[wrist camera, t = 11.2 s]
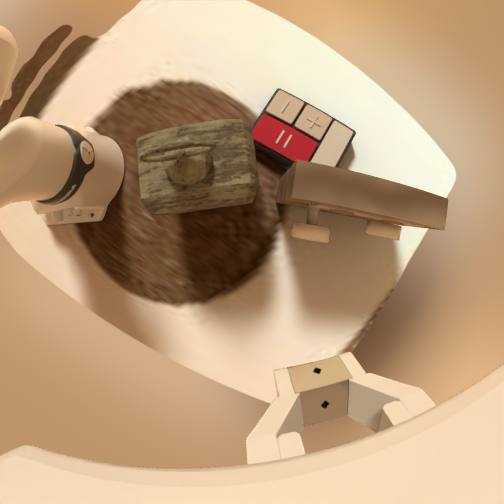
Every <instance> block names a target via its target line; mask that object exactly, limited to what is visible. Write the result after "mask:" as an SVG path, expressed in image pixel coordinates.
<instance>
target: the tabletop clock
mask: <svg viewBox="0 0 504 504" xmlns="http://www.w3.org/2000/svg"><path fill="white" fill-rule="evenodd" d="M137 157H138V171H139V183H140V194H141V201H142V203H143V204H144V206H145V207H146V208H147V210H148V211H149V212H150V214H151V215H168V214H177V213H185V212H191V211H198V210H206V209H213V208H220V207H228V206H235V205H243V204H249V203H252V202H253V200H254V198H255V196H256V194H257V192H258V189H259V187H260V186H259V178H258V170H257V162H256V154H255V146H254V139H253V132H252V128H251V125H250V124H249V123H248V122H247V121H245V120H243V119H223V120H214V121H206V122H199V123H193V124H186V125H182V126H177V127H173V128H168V129H164V130H160V131H156V132H153V133H149V134H146V135H144V136H141V137H139V138H137Z"/></svg>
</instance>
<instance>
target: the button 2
mask: <svg viewBox="0 0 504 504" xmlns="http://www.w3.org/2000/svg"><path fill="white" fill-rule="evenodd" d="M400 233H401V226H398V225H394V224H389V223H386V222H382V221H380V222H379V221H372V220H368V223H367V230H366V234H370V235H375V236H380V237H385V238H390V239H395V240H399V239H400Z"/></svg>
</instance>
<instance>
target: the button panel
mask: <svg viewBox="0 0 504 504" xmlns="http://www.w3.org/2000/svg"><path fill="white" fill-rule="evenodd" d="M276 203H279V204H286V205H292V206H298V207H303V208H309V206H311V207H316V208H319V210H321V211H326V212H331V213H337V214H342V215H347V216H352V217H357V218H362V219H367V220H372V221H379V222H380V221H382V222H386V223H389V224H396V225H402V226H412V227H420V228H430V229H437V230H444V229H445V223H446V215H447V206H448V199H447V198H444V197H441V196H438V195H435V194H432V193H429V192H426V191H423V190H419V189H416V188H413V187H410V186H406V185H403V184H400V183H396V182H393V181H389V180H385V179H382V178H378V177H374V176H370V175H366V174H362V173H358V172H354V171H350V170H346V169H341V168H337V167H332V166H328V165H323V164H318V163H313V162H308V161H303V160H296V161H295V162H294V163H293V165H292V166H291V167H290V168H289V169H288V170H287V171H286V172H285V174H284V175H283V176H282V177H281V178H280V179H279V185H278V192H277V199H276Z"/></svg>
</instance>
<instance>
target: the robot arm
mask: <svg viewBox="0 0 504 504" xmlns="http://www.w3.org/2000/svg"><path fill="white" fill-rule="evenodd" d="M18 55H19V52H18V47H17V43H16V41H15V39H14V37H13V35H12V34H11V32H10V31H9V30H8V29H6V28H5V27H3V26H1V25H0V107H1V104H2V102H3V100H4V97H5V95H6V92H7V89H8V86H9V82H10V79H11V76H12V73H13V70H14V67H15V64H16V61H17V58H18ZM123 175H124V158H123V154H122V151H121V149H120V147H119V146H118V144H117V143H116V142H115V141H114V140H112V139H111V138H109V137H106V136H102V135H100V134H98V133H97V132H96V131H95V130H94V129H93V128H91V127H86V128H84V129H81V128H77V127H73V126H63V125H53V124H50V123H48V122H45V121H42V120H40V119H37V118H34V117H22V118H19V119H17V120H15V121H13V122H11V123H9V124H8V125H6V126H5V127H4V128H3V129H2V130H1V131H0V208H1V207H3V206H5V205H7V204H10V203H14V202H20V201H31V202H32V206H33V208H34V210H35V212H36V213H37V214H41V216H42V218H43V220H44V222H45V223H46V224H47V225H56V224H69V223H82V222H96V221H101V220H102V219H103V218H104V216H105V213H106V210H107V207H108V205H109V203H110V201H111V200H112V199H113V198H114V196H115V195H116V193H117V192H118V190H119V188H120V186H121V183H122V180H123ZM93 213H94V216H92V214H93ZM273 371H274V378H275V383H276V389H277V395H278V397H277V398H275V399H274V401H273V402H272V404H271V405H270V407H269V408H268V409H267V411H266V412H265V414H264V415H263V417H262V418H261V419H260V421H259V422H258V424H257V425H256V426H255V428H254V429H253V431H252V432H251V433H250V435H249V436H248V437H247V439H246V444H247V460H248V464H247V465H238V466H228V467H214V468H190V469H187V468H186V469H178V468H176V469H174V468H148V467H135V466H125V465H116V464H109V463H102V462H97V461H90V460H85V459H80V458H75V457H71V456H67V455H63V454H59V453H55V452H51V451H48V450H44V449H41V448H38V447H35V446H31V445H24V446H21V447H19V448H16V449H14V450H12V451H10V452H7V453H5V454H3V455H1V456H0V504H504V363H503V364H502V365H500V366H499V367H498V368H496V369H495V370H493V371H492V372H491V373H489V374H488V375H486V376H485V377H483V378H482V379H480V380H479V381H477V382H476V383H474V384H473V385H471V386H470V387H468V388H466V389H465V390H463V391H461V392H460V393H458V394H456V395H455V396H453V397H451V398H450V399H448V400H446V401H444V402H442V403H441V404H439V405H437V406H436V405H435V404H434V403H433V401H432V400H431V399H430V398H429V397H428V396H427V395H426V394H425V392H424V391H423V390H422V389H421V388H417V387H414V386H410V385H407V384H404V383H400V382H397V381H394V380H391V379H387V378H384V377H381V376H378V375H374V374H372V373H368V374H366V372H365V371H364V370H363V368H362V367H361V365H360V364H359V363H358V361H357V360H356V359H355V357H354V356H353V354H352V353H351V352H347V353H343V354H340V355H337V356H335V357H331V358H327V359H324V360H320V361H316V362H311V363H306V364H301V365H296V366H291V367H287V368H282V369H276V370H273ZM345 415H348V416H349V417H350V418H352V419H354V420H355V421H357V422H359V423H361V424H362V425H364V426H366V427H368V428H369V429H371V430H373V431H375V432H376V433H374V434H371V435H369V436H366V437H363V438H360V439H357V440H354V441H352V442H348V443H345V444H342V445H339V446H335V447H332V448H328V449H324V450H320V451H317V452H313V453H309V454H305V450H304V447H303V444H302V440H301V437H300V436H301V433H302V431H303V428H304V427H305V426H309V425H313V424H316V423H320V422H323V421H327V420H331V419H335V418H339V417H342V416H345Z"/></svg>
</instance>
